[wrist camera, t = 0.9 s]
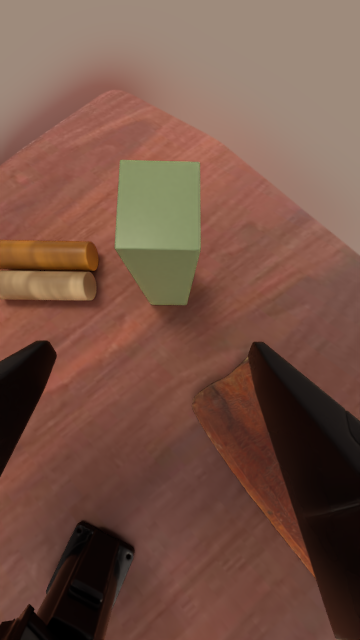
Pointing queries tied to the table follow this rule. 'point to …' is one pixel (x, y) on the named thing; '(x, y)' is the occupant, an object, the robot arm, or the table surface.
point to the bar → (159, 227)
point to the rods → (47, 258)
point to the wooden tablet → (249, 449)
